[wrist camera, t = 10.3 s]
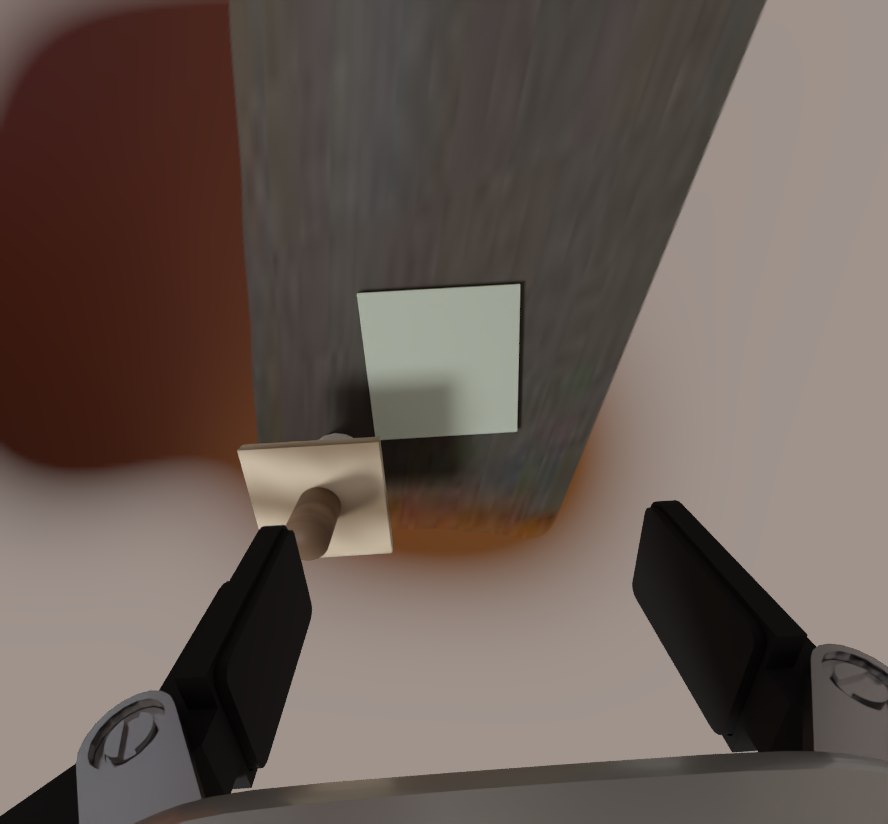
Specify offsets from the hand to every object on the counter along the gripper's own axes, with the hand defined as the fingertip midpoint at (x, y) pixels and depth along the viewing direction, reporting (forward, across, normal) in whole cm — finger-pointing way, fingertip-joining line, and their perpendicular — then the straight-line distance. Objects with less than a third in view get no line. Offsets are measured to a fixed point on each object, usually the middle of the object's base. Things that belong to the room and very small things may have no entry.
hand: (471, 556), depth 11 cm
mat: (+28, 0, +3) cm, 28 cm away
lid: (+21, +11, +12) cm, 27 cm away
